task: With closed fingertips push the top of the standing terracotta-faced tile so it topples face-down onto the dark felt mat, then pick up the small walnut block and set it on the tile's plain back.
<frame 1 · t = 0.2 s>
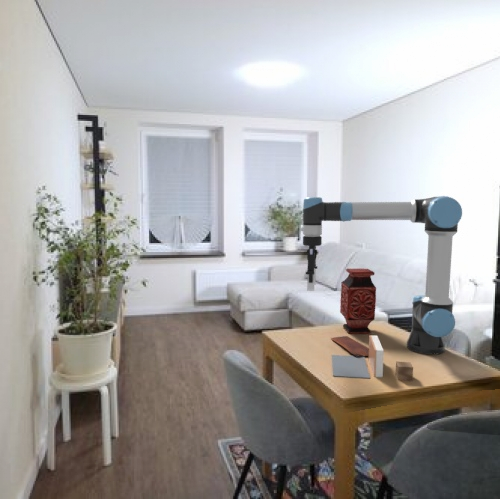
hand: (311, 287, 179), 28 cm above the table, fingers open, 13 cm apart
walnut block: (403, 377, 156), on the table
tile: (375, 368, 166), on the table
vase: (356, 330, 214), on the table
wooden tablet: (352, 347, 189), on the table, touching felt mat
felt mat: (349, 366, 167), on the table
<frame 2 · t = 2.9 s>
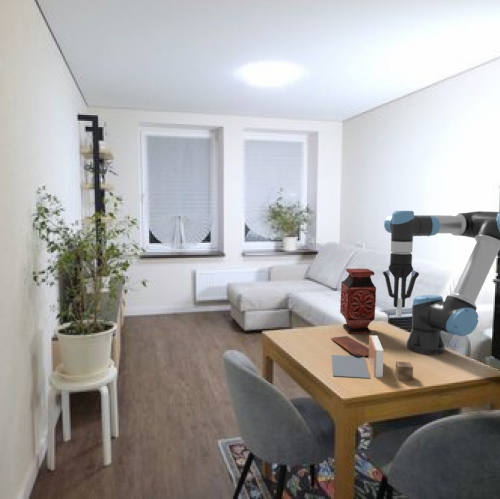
hand: (398, 315, 162), 20 cm above the table, fingers closed
nothing on the table moved.
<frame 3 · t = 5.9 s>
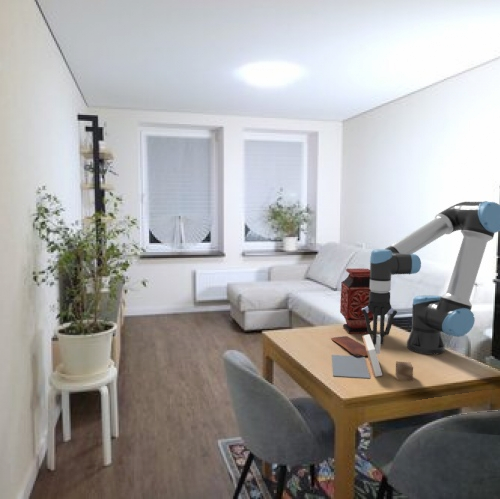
hand: (377, 352, 165), 6 cm above the table, fingers closed
tile: (375, 366, 166), on the table, tilted 17°
everything else where it was.
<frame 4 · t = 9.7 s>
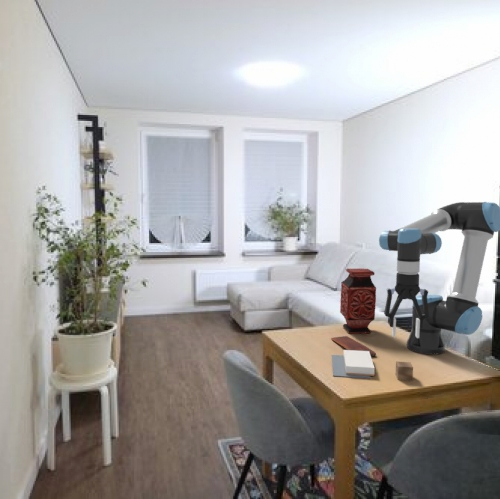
hand: (405, 336, 155), 15 cm above the table, fingers open, 7 cm apart
tile: (371, 362, 166), point 2 cm above the table, tilted 90°, touching felt mat
everything else where it was.
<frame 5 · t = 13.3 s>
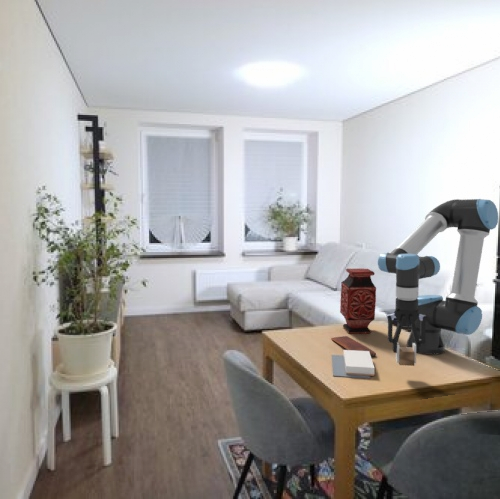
hand: (405, 361, 156), 6 cm above the table, fingers closed on walnut block, 5 cm apart
walnut block: (405, 362, 156), point 5 cm above the table, touching gripper
everything else where it was.
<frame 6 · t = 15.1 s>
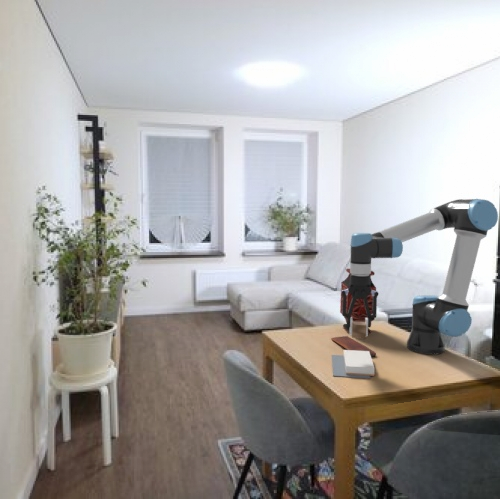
hand: (358, 334, 165), 12 cm above the table, fingers closed on walnut block, 5 cm apart
walnut block: (358, 336, 165), point 12 cm above the table, touching gripper
everything else where it was.
when the fingers open (4 cm above the table, at t = 16.9 s): walnut block stays where it is, resting on tile.
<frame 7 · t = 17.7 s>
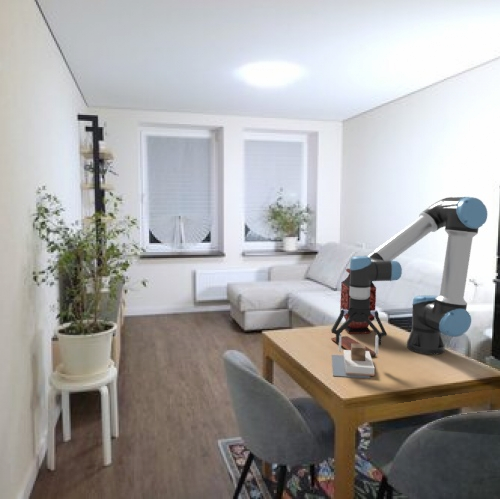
hand: (358, 352, 166), 6 cm above the table, fingers open, 13 cm apart
walnut block: (357, 358, 166), point 3 cm above the table, touching tile
tile: (371, 362, 166), point 2 cm above the table, tilted 90°, touching felt mat, walnut block
everything else where it was.
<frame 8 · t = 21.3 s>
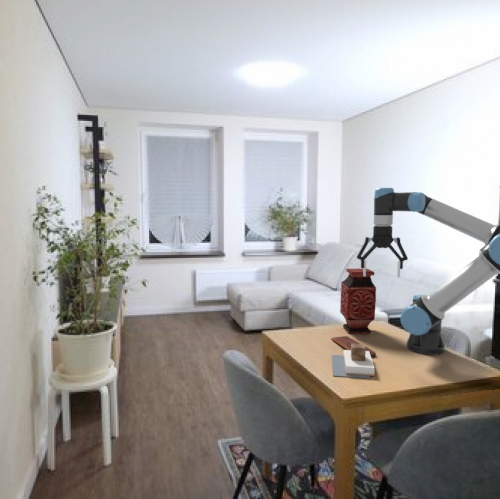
hand: (381, 276, 182), 32 cm above the table, fingers open, 13 cm apart
nothing on the table moved.
at the end: tile tilted 90°; walnut block touching tile; walnut block point 3.3 cm above the table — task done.
